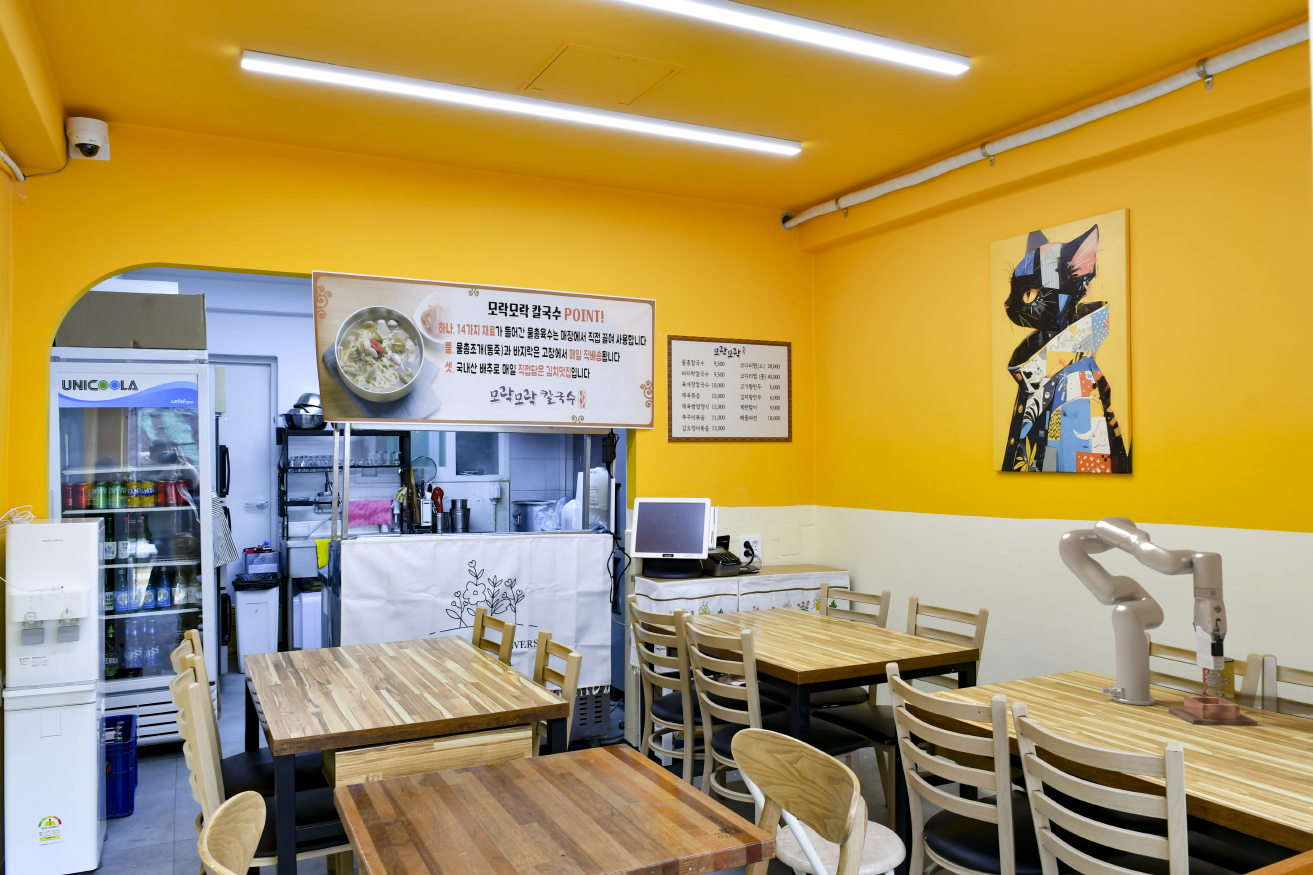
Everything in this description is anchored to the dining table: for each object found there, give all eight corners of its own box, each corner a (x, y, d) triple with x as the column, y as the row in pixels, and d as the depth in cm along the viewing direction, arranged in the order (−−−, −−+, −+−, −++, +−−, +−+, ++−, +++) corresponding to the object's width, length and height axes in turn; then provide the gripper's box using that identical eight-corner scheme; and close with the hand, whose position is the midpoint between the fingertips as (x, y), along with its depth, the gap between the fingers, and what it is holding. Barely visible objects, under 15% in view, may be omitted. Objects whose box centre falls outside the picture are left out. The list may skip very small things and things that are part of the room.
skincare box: (1225, 669, 267) (1223, 628, 268) (1213, 670, 266) (1212, 629, 267) (1207, 665, 273) (1206, 625, 274) (1196, 666, 272) (1195, 626, 272)
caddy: (1193, 724, 262) (1192, 706, 262) (1168, 712, 276) (1168, 694, 276) (1257, 725, 261) (1256, 707, 261) (1229, 712, 275) (1228, 695, 275)
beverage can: (1201, 690, 305) (1200, 654, 305) (1232, 693, 301) (1231, 657, 301) (1204, 696, 296) (1203, 659, 297) (1237, 699, 293) (1236, 661, 293)
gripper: (1238, 597, 262) (1240, 659, 261) (1205, 590, 279) (1206, 648, 278) (1211, 597, 262) (1213, 659, 261) (1180, 590, 279) (1181, 648, 278)
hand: (1210, 653), depth 270 cm, fingers closed on skincare box, 7 cm apart
